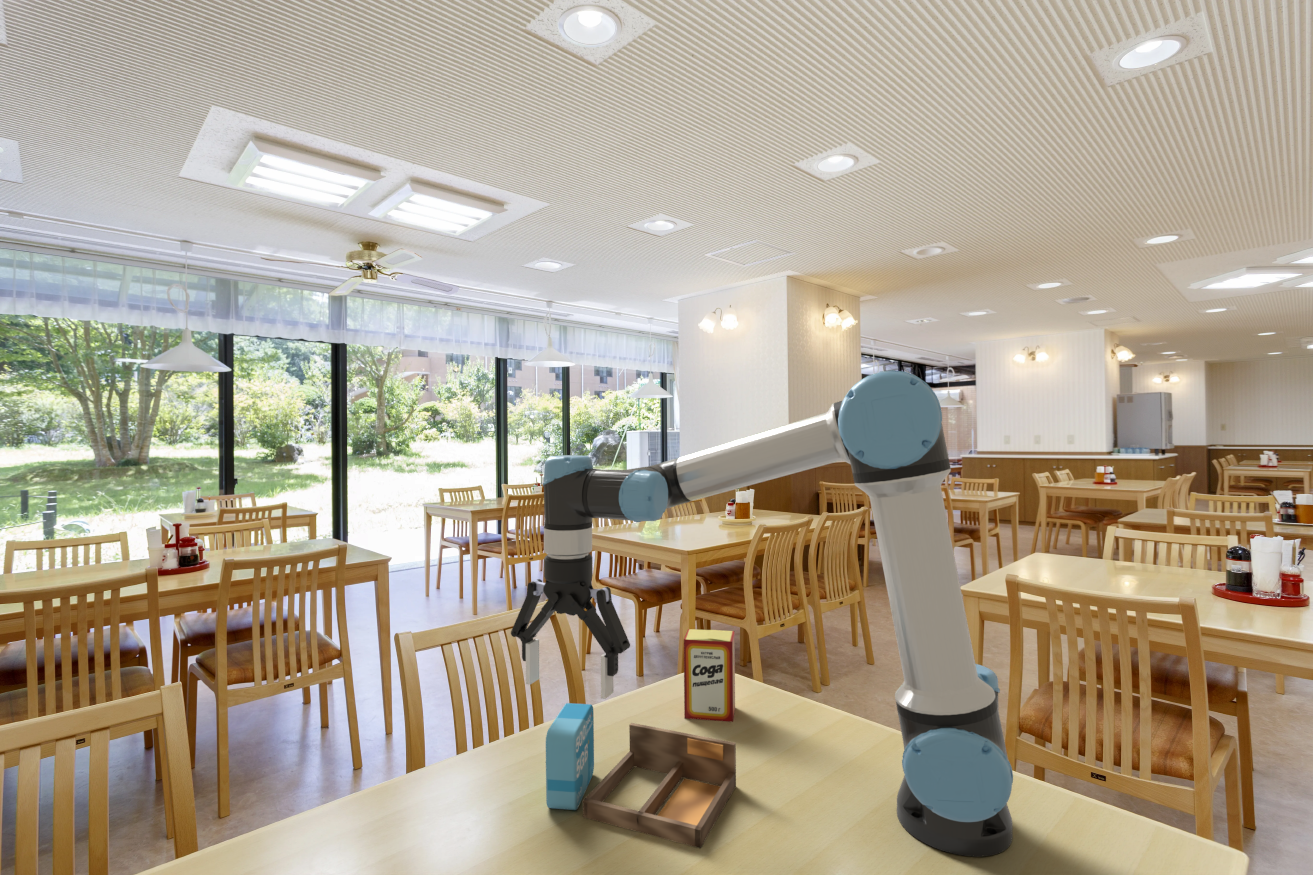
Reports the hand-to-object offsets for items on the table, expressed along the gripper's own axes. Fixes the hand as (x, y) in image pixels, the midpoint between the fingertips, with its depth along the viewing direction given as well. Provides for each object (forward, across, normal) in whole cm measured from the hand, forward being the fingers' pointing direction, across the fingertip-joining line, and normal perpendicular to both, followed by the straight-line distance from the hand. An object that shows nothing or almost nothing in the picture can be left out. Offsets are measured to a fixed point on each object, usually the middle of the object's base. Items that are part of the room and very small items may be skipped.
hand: (569, 688), depth 104 cm
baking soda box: (+16, -11, -35) cm, 40 cm away
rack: (+16, -15, -3) cm, 22 cm away
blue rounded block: (+17, 0, 0) cm, 17 cm away
